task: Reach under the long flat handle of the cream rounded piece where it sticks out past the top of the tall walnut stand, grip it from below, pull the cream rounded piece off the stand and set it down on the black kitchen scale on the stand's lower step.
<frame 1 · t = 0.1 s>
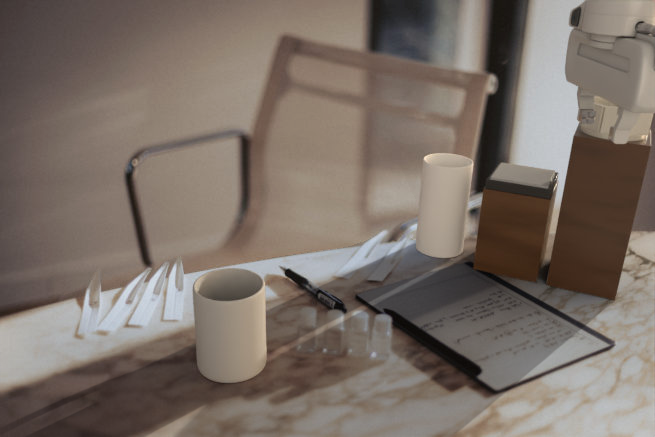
hand: (600, 132, 79), 27 cm above the table, tool pointing down, fingers open, 8 cm apart
cream rounded piece: (613, 132, 90), point 24 cm above the table, touching stand
scale: (521, 184, 99), resting on stand
cup: (438, 248, 109), on the table
mug: (228, 356, 78), on the table
stand: (582, 278, 100), on the table
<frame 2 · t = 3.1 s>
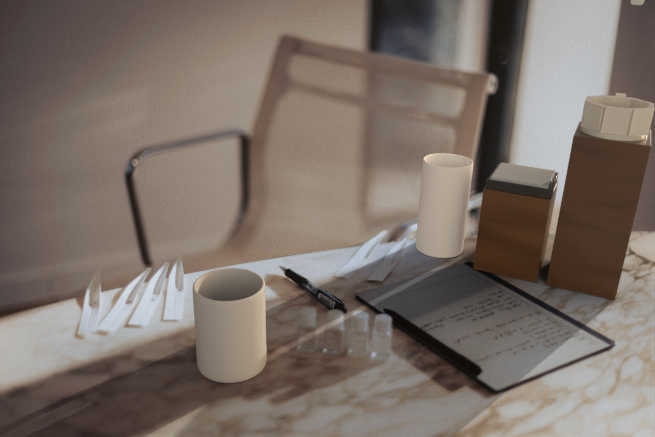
hand: (636, 3, 94), 41 cm above the table, tool pointing down, fingers open, 8 cm apart
nothing on the table moved.
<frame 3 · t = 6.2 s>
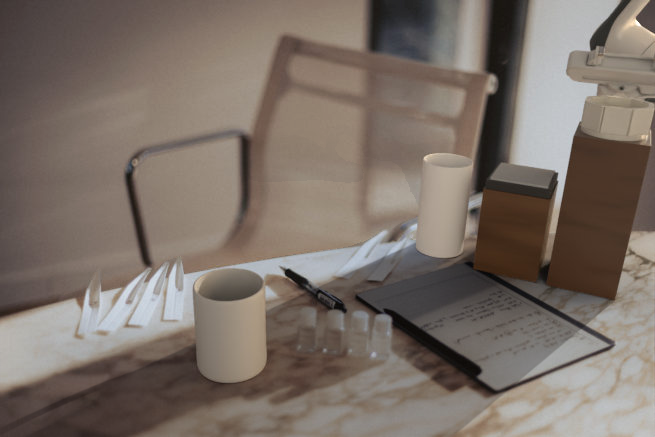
hand: (629, 52, 108), 33 cm above the table, tool pointing upward, fingers open, 8 cm apart
nothing on the table moved.
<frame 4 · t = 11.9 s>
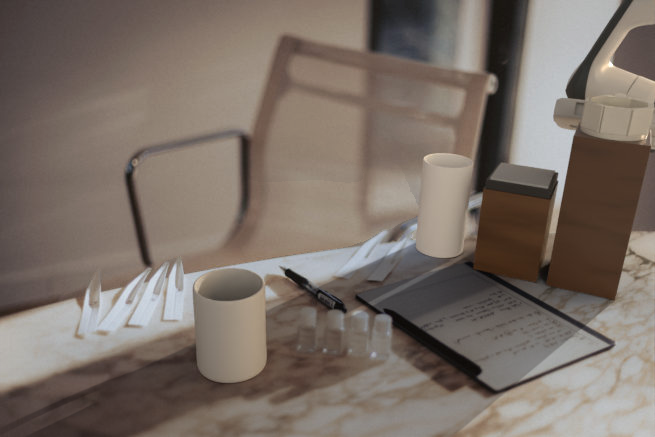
hand: (619, 103, 100), 26 cm above the table, tool pointing upward, fingers closed on cream rounded piece, 2 cm apart
cream rounded piece: (612, 132, 90), point 24 cm above the table, touching gripper, stand
everything else where it was.
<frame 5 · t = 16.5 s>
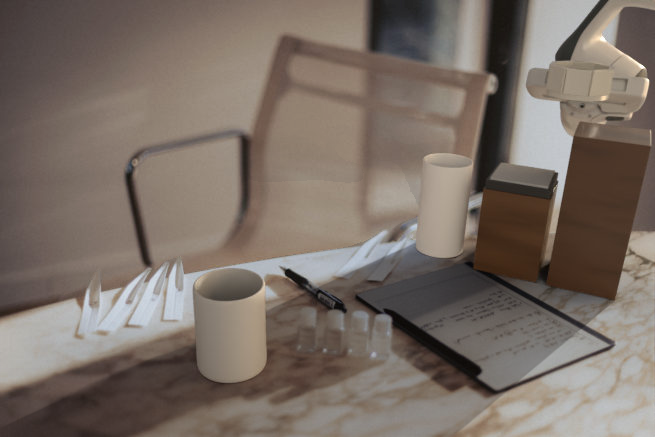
hand: (586, 71, 105), 30 cm above the table, tool pointing upward, fingers closed on cream rounded piece
cream rounded piece: (576, 95, 95), point 28 cm above the table, touching gripper
everything else where it was.
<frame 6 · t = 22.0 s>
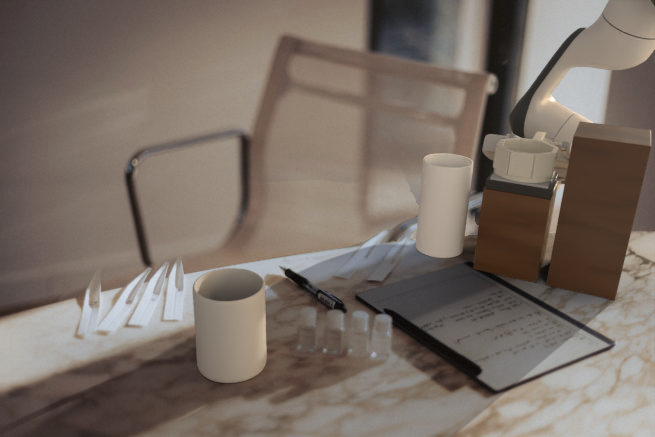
hand: (537, 142, 108), 18 cm above the table, tool pointing upward, fingers open, 8 cm apart
cream rounded piece: (523, 173, 98), point 16 cm above the table, touching scale
everything else where it was.
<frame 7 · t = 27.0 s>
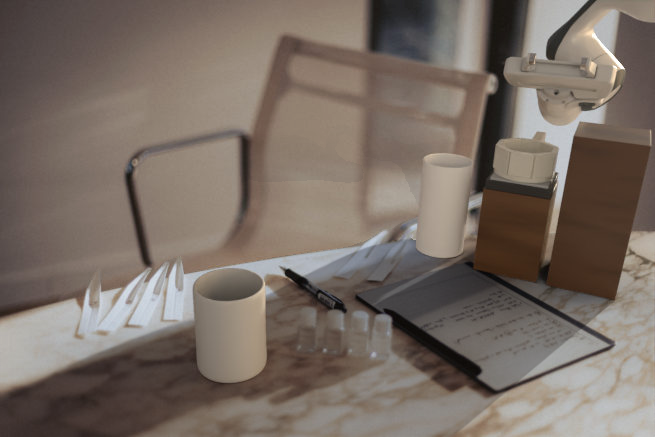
hand: (557, 59, 113), 30 cm above the table, tool pointing upward, fingers open, 8 cm apart
nothing on the table moved.
at the end: cream rounded piece inside the target area on the scale (0.1 cm from its centre), point 1.8 cm above the scale's base; cream rounded piece tilted 0°; the gripper is holding nothing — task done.
